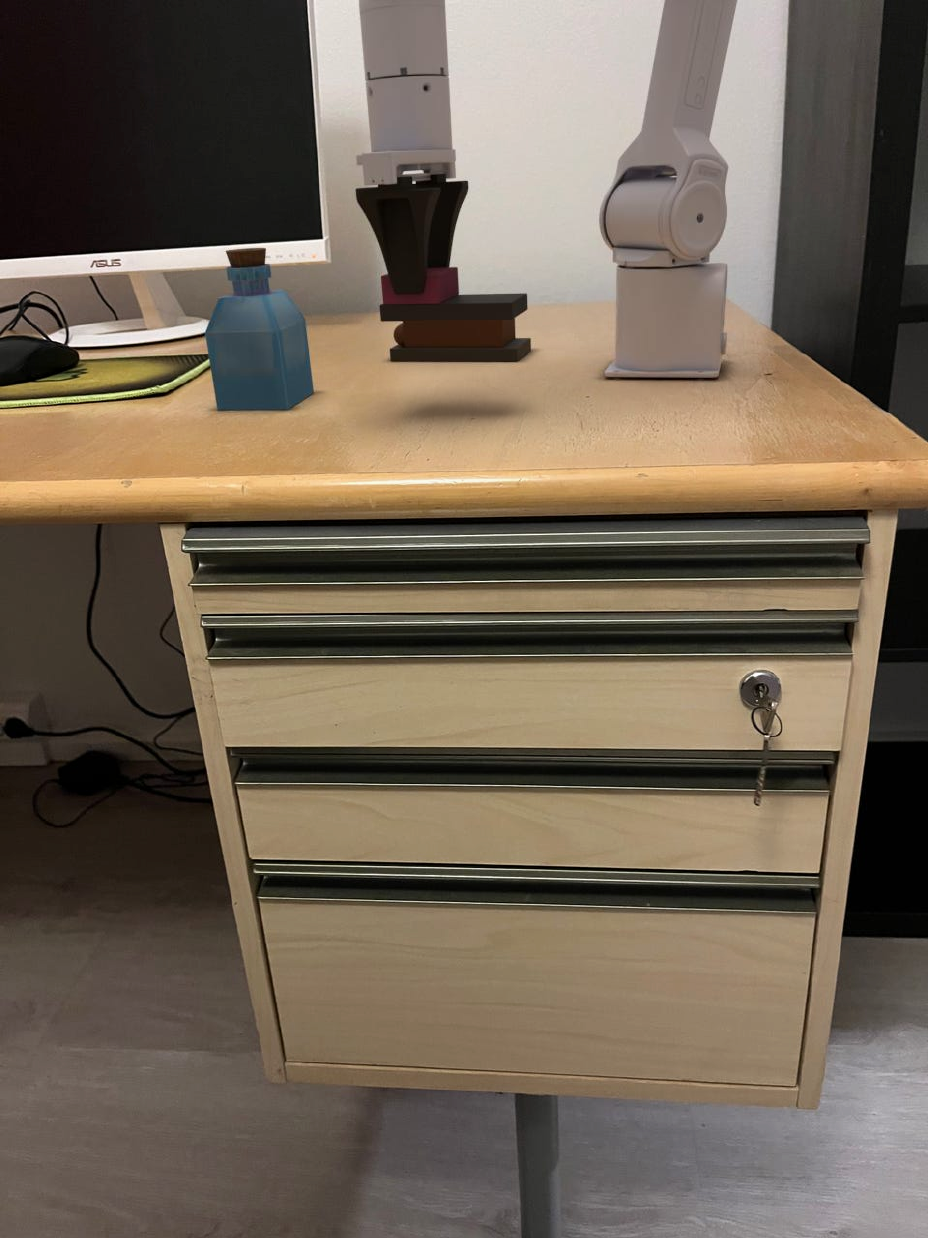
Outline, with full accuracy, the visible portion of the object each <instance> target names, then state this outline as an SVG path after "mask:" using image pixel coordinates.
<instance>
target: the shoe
mask: <svg viewBox="0 0 928 1238" xmlns="http://www.w3.org/2000/svg"><path fill="white" fill-rule="evenodd" d="M393 340H394V342H395V343H396V345H395V346H392V347H391V348H389V359H390V362H518V361H520V360H521V359H522V358H523V357H525V356H526V355H527V354H528V353H530V351H532V338H531V337H516V318H514V319H513V320H476V321H402V323H400V324H398V325H397V326H396V327H395V328H394V330H393Z"/></svg>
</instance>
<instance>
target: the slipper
mask: <svg viewBox="0 0 928 1238" xmlns="http://www.w3.org/2000/svg"><path fill="white" fill-rule="evenodd" d="M459 283H460V281H459V268H458V266H449V267H438V268H427V276H426V284H425V289H424V293H423V294H418V295H395V294H394V291H393V288H392V285H391V282H390V279H389V276H388V273H386V274H383V275H381V276H380V284H381V286H380V287H381V298H382V303H381V304H379V306H378V307H379V308H378V309H379V317H380V318H379V319H380V322H382V323H384V322H385V323H386V322H388V323H389V322H391V323H392V322H393V323H394V322H403V321H476V320H513V319H514V318H515V319H516V318H517V317H519V316H520V315H522V314H524V313H525V312H526V311H528V309H529V307H528V293H524V292H523V293H479V294H476V293H475V294H474V293H473V294H460V284H459Z"/></svg>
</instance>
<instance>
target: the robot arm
mask: <svg viewBox="0 0 928 1238" xmlns="http://www.w3.org/2000/svg"><path fill="white" fill-rule="evenodd" d="M737 5H738V0H664V2H663V8H662V14H661V19H660V24H659V30H658V34H657V41H656V46H655V53H654V57H653V64H652V68H651V74H650V78H649V79H650V80H649V85H648V91H647V96H646V102H645V106H644V107H645V108H644V113H643V118H642V123H641V128H640V129H641V130H640V132H639V134H637V136H636V138H635V139H634V140H633V141H632V142H631V143H630V144H629V146H627V148H626V149H625V150H624V151H623V153H622V154H621V155H620V156H619V158H618V160H617V164H616V170H615V174H614V178H613V180H612V183H611V185H610V186H609V188H608V189H607V191H606V193H605V194H604V196H603V199H602V201H601V205H600V209H599V213H598V215H599V216H598V217H599V218H598V223H599V231H600V234H601V238H602V239H603V240H602V241H604V243H605V245H606V246H607V247H608V248H609V249H610V250H611V251H612V263H616V264H617V265H616V273H615V274H616V275H615V276H616V277H615V278H616V279H615V282H616V283H615V284H616V285H615V295H616V296H615V333H614V334H615V335H614V340H615V341H614V344H615V345H614V359H613V360H612V362H611V363H610V364H609V365H608V367H607V368H606V369H605V370H604V377H606V378H685V379H686V378H687V379H689V378H691V379H692V378H695V379H697V378H699V379H704V378H706V379H707V378H708V379H714V378H718V377H719V375H720V371H721V367H722V363H723V355H726V353H727V339H728V333H727V332H725V317H726V304H727V287H728V264H727V263H723V262H714V263H713V262H710V259H711V258H710V257H711V256H710V255H711V253H712V252H713V251H714V250H715V248H716V247H717V246H718V244H719V242H720V241H721V239H722V237H723V235H724V231H725V229H726V225H727V217H728V205H727V197H726V185H727V184H726V183H727V177H728V172H729V164H728V163H727V160H726V159H725V158H724V157H723V156H722V154H721V153H720V152H719V151H718V149H717V148H716V147H715V146H714V145H713V143H712V142H711V140H710V137H711V132H712V127H713V122H714V118H715V112H716V107H717V102H718V97H719V92H720V88H721V83H722V79H723V73H724V68H725V64H726V58H727V52H728V48H729V43H730V39H731V33H732V29H733V25H734V24H733V23H734V18H735V13H736V7H737ZM358 12H359V21H360V34H361V35H360V36H361V45H362V56H363V58H362V59H363V70H364V81H365V93H366V103H367V115H368V116H367V117H368V126H369V138H370V139H369V140H370V151H371V152H362V153H361V154H357V155H355V160H356V165H357V166H362V176H363V184H364V186H366V187H357V188H355V199H356V203H357V204H358V206H359V208H360V209H361V210H362V213H363V214H364V216H365V217H366V219H367V221H368V223H369V225H370V228H371V229H372V231H373V233H374V237H375V238H376V240H377V243H378V245H379V249H380V252H381V255H382V258H383V262H384V265H385V269H386V272H387V274H388V276H389V279H390V282H391V285H392V288H393V291H394V294H395V295H418V294H423V293H424V289H425V284H426V276H427V268H438V267H451V266H450V265H451V258H452V251H453V250H452V249H453V243H454V236H455V231H456V228H457V223H458V219H459V216H460V213H461V209H462V207H463V204H464V202H465V200H466V198H467V195H468V193H469V181H468V180H453V179H456V178H457V171H456V170H457V169H456V168H457V167H456V161H457V153H456V149H455V148H453V133H452V132H453V131H452V130H453V129H452V113H451V90H450V77H449V76H450V74H449V55H448V54H449V53H448V35H447V34H448V33H447V16H446V15H447V14H446V13H447V12H446V0H358ZM415 171H422V172H420V173H419V172H418V173H405V174H404V172H415ZM449 179H451V180H449ZM447 180H449V181H447ZM452 180H453V181H452ZM414 182H415V183H414ZM368 186H369V187H368ZM370 186H371V187H370Z"/></svg>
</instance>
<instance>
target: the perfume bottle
mask: <svg viewBox="0 0 928 1238" xmlns="http://www.w3.org/2000/svg"><path fill="white" fill-rule="evenodd" d="M225 253H226V256H227V259H228V262H229V264H230V266H227V267H226V268H225V269H226V276H227V280H228V282H231V285H232V293H228V294H226V295H222V296H219V297H217V300H216V303H215V305H214V309H213V310H212V312H211V315H210V318H209V321H208V323H207V325H206V328H205V330H204V336H205V342H206V348H207V355H208V361H209V368H210V374H211V379H212V386H213V393H214V397H215V399H214V400H215V404H216V410H217V411H286V410H287V411H288V410H290V409H291V408H293V407H295V406H296V405H298V404H299V403H301V402H302V401H304V400H306V399H307V398H309V397H311V396H312V395H313V394H314V393H315V390H314V381H313V373H312V364H311V355H310V348H309V346H310V345H309V338H308V331H307V322H306V318H305V316H304V315H303V313H302V312H301V311H300V309H299V308H298V307H297V305H296V304H295V303H294V301H293V300H292V298H291V296H289V294H288V293H287V292H286V290H285V289H271V290H270V282H269V279H270V278H272V270H271V269H272V268H271V264H270V263H266V255H267V248H266V247H246V248H236V249H235V248H234V249H227V250H225Z"/></svg>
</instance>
